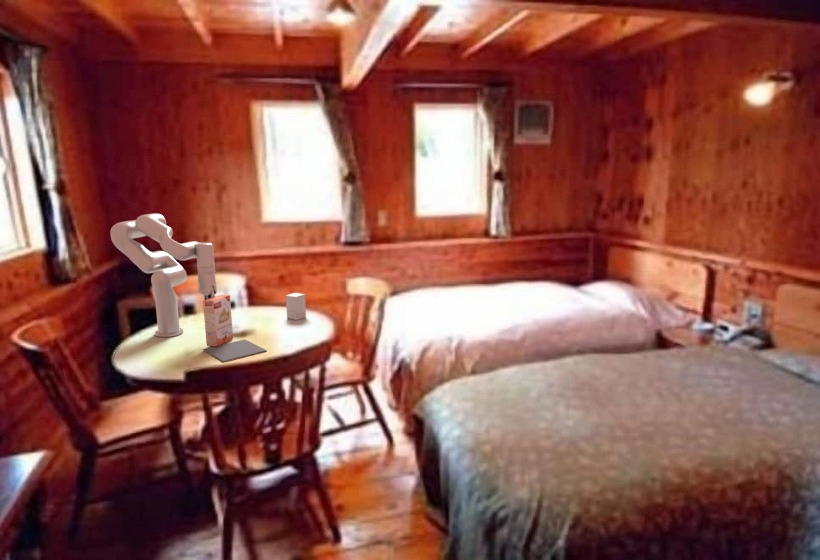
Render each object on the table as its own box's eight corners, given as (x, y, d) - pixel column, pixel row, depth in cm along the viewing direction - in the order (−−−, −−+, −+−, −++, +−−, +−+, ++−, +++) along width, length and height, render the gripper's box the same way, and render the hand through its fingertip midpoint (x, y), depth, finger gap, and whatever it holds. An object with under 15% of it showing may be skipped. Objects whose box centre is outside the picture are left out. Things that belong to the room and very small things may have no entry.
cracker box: (218, 347, 249) (214, 300, 245) (206, 346, 250) (201, 300, 246) (234, 338, 262) (230, 294, 258) (222, 338, 263) (218, 294, 260)
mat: (202, 350, 246) (202, 348, 246) (245, 340, 260) (245, 339, 260) (223, 362, 232) (223, 360, 232) (266, 351, 246) (266, 350, 245)
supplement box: (306, 317, 298) (305, 294, 296) (296, 320, 292) (295, 297, 290) (296, 315, 302) (295, 292, 300) (286, 318, 296) (285, 295, 293)
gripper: (191, 268, 259) (195, 307, 263) (205, 273, 248) (208, 313, 252) (207, 266, 264) (210, 304, 268) (221, 271, 253) (224, 310, 257)
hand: (209, 308), depth 260 cm, fingers closed
